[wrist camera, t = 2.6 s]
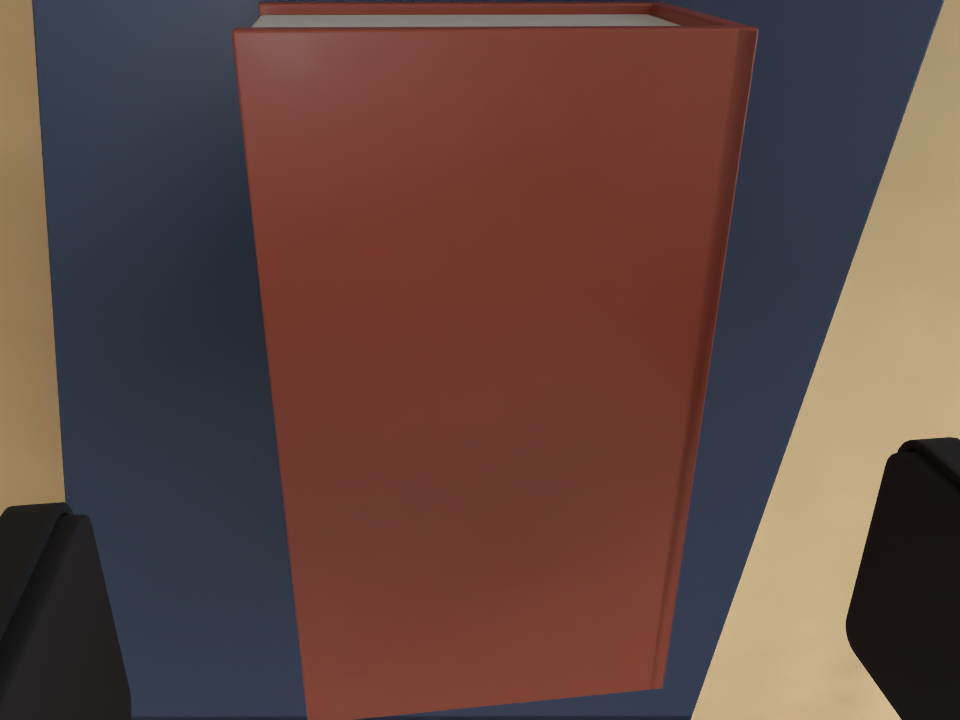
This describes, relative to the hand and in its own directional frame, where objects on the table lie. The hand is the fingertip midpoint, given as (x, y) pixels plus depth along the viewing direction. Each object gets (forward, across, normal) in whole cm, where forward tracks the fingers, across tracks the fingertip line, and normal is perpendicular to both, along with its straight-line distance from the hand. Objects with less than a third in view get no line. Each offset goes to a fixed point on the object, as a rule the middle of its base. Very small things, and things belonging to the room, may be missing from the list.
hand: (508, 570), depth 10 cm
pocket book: (+6, 0, 0) cm, 6 cm away
